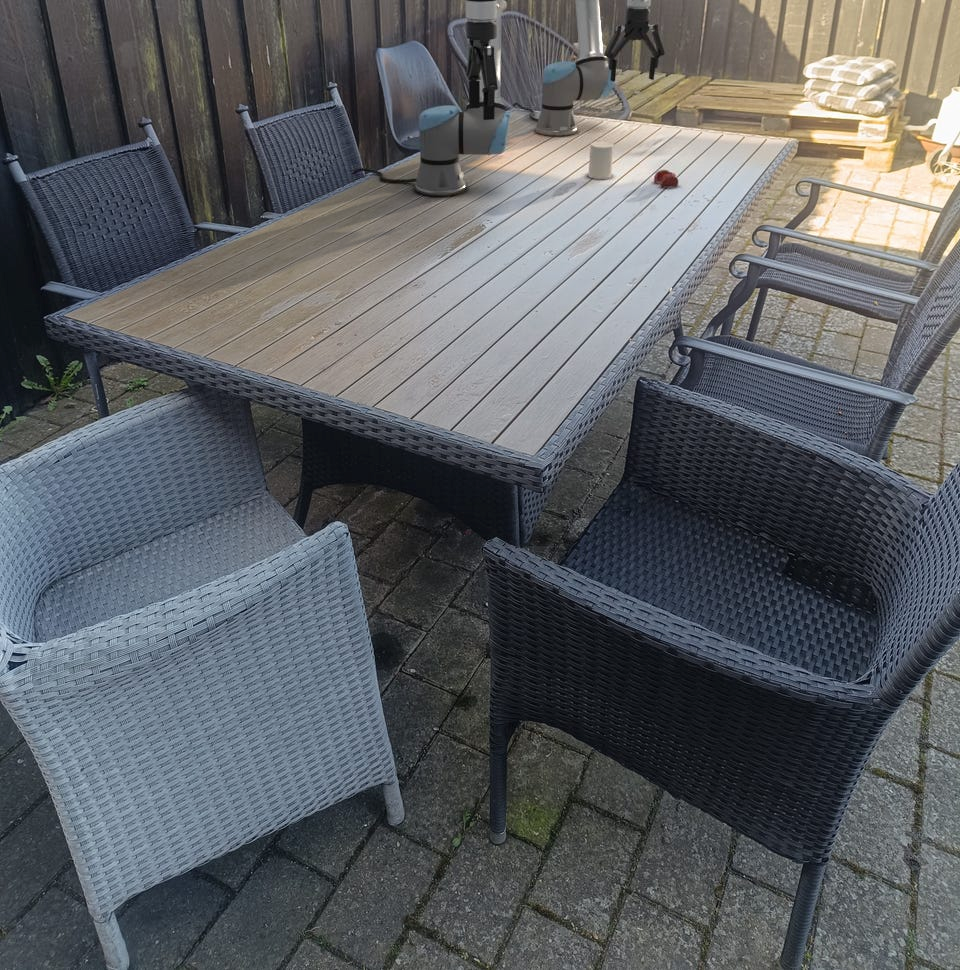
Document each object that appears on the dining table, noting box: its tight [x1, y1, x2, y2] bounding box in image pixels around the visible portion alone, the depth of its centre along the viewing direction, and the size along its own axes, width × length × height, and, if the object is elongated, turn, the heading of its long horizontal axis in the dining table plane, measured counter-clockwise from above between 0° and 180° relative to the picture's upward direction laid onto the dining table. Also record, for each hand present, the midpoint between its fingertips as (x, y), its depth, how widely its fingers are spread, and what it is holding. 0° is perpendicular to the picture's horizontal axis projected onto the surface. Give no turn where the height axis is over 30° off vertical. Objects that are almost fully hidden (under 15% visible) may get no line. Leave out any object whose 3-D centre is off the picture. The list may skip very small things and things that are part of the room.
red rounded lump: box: [653, 169, 679, 188], centre depth 261 cm, size 6×4×8 cm
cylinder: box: [587, 141, 615, 180], centre depth 268 cm, size 7×7×10 cm
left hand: (481, 113), depth 217 cm, fingers open, 13 cm apart
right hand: (632, 80), depth 282 cm, fingers open, 13 cm apart
